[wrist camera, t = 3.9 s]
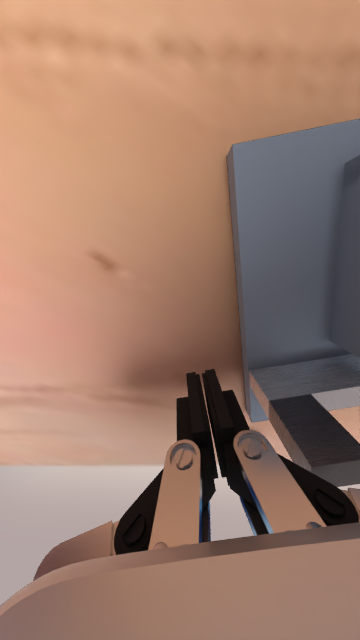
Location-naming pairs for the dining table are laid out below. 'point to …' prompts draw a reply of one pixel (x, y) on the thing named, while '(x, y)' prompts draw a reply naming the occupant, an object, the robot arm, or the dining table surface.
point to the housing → (296, 247)
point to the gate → (313, 413)
